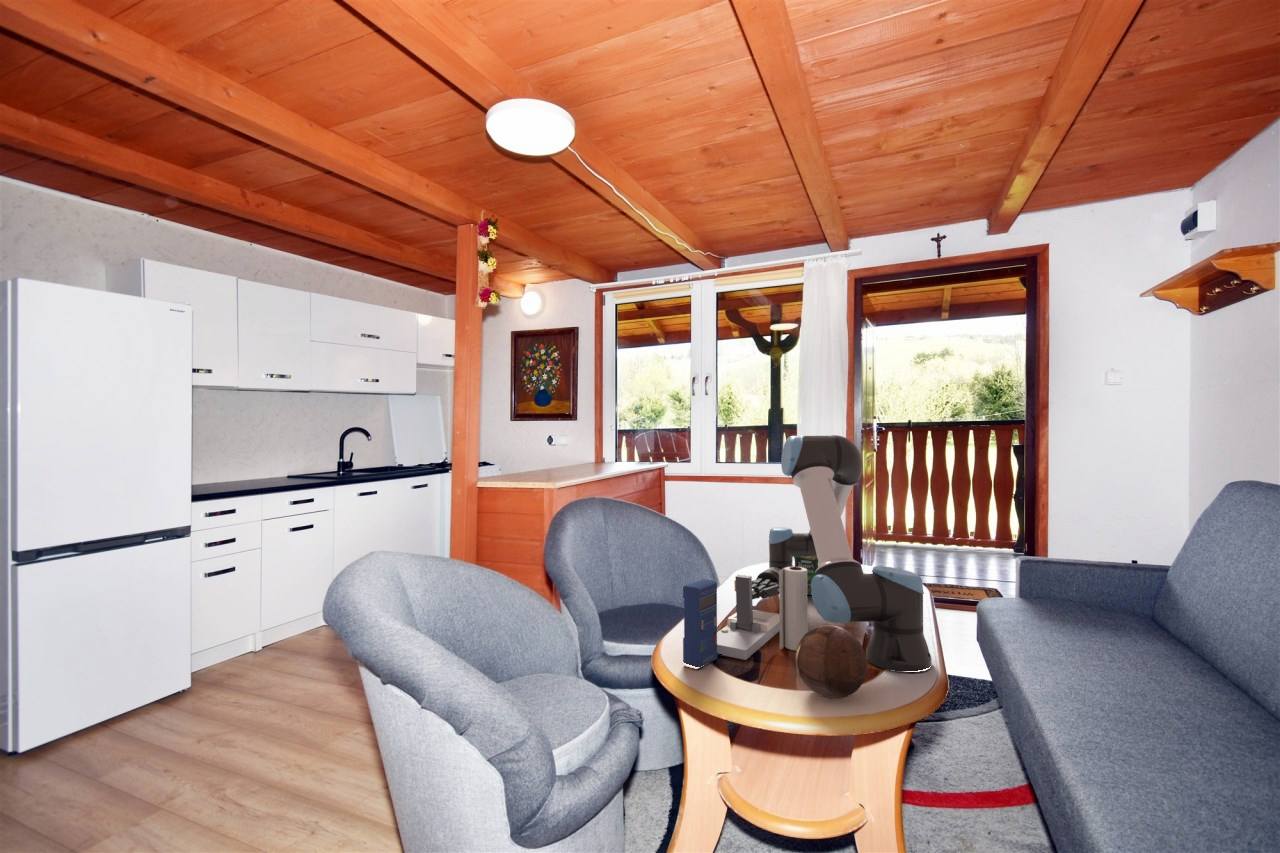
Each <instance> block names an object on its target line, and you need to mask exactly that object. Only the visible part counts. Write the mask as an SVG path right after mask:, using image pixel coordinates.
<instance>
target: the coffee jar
mask: <svg viewBox="0 0 1280 853" xmlns="http://www.w3.org/2000/svg"><path fill="white" fill-rule="evenodd" d="M793 559H794V567H802V568H806V569H807V595H811V591H812V589H811V581H812V579H813V577H814V576H816V575H815V571H816V569H817V568H818V567H819V562H818V558H817V556H795V557H793Z"/></svg>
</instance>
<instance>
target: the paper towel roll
mask: <svg viewBox="0 0 1280 853" xmlns="http://www.w3.org/2000/svg"><path fill="white" fill-rule="evenodd" d="M778 595H779V614H780V631H779V650H782V649H783V648H784V647H785V648H786V649H788V650H791V651H795V652H796V649H797V646H798V643H799V641H800V640H801V638H802V637H803V636H804V635H805V634H806V633H807V632H808V631H809V627H808V623H809V622H808V619H809V618H808V616H809V614H808V611H809V610H808V598H809V597H808V596H807V569H806V568H802V567H795V566H794V567H786V568H783V569H782V570H779V594H778Z"/></svg>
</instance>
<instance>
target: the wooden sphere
mask: <svg viewBox="0 0 1280 853" xmlns="http://www.w3.org/2000/svg"><path fill="white" fill-rule="evenodd" d="M795 665H796V666H795V667H796V670H797V673H798V675H799V677H800V680H802V682H803V683H804V684H805V685H806V687H808V689H810V690H811V691H812V692H813V693H815V694H816V695H818V696H821V697H823V698H828V699H833V700H834V699H835V700H836V699H843V698H846V697H847V698H848V697H849V696H852V695H853V694H854V693H856V692H857V691H858V690H859V689H860V688H861V686H862V685H863V683H864V681H865V679H866V676H867V672H868V660H867V658H866V652H865V649H864V648H863V646H862V644H861V643H860V641H859V640H858V638H856V636H854V635H853V634H852V633H851V632H850V631H848V630H847V629H844V628H842V627H841V626H836V625H828V624H824V625H819V626H816V627H812V628H811V629H810V630H809V629H808V632H807V633H806V634H805V635H804V636H803V637H802V638H801V640H800V641H799V643H798V646H797V649H796V651H795Z"/></svg>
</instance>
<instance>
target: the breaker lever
mask: <svg viewBox="0 0 1280 853" xmlns="http://www.w3.org/2000/svg"><path fill="white" fill-rule="evenodd" d="M752 581H753V577H752V576H751V575H745V574H737V575H735V580H734V583H733V584H734V592H735V598H736V599H735V601H736V602H735V604H736V612H737V627H738V628H744V629H749V630H752V625H753V610H754V609H753V608H754V606H753V600H752Z"/></svg>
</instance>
